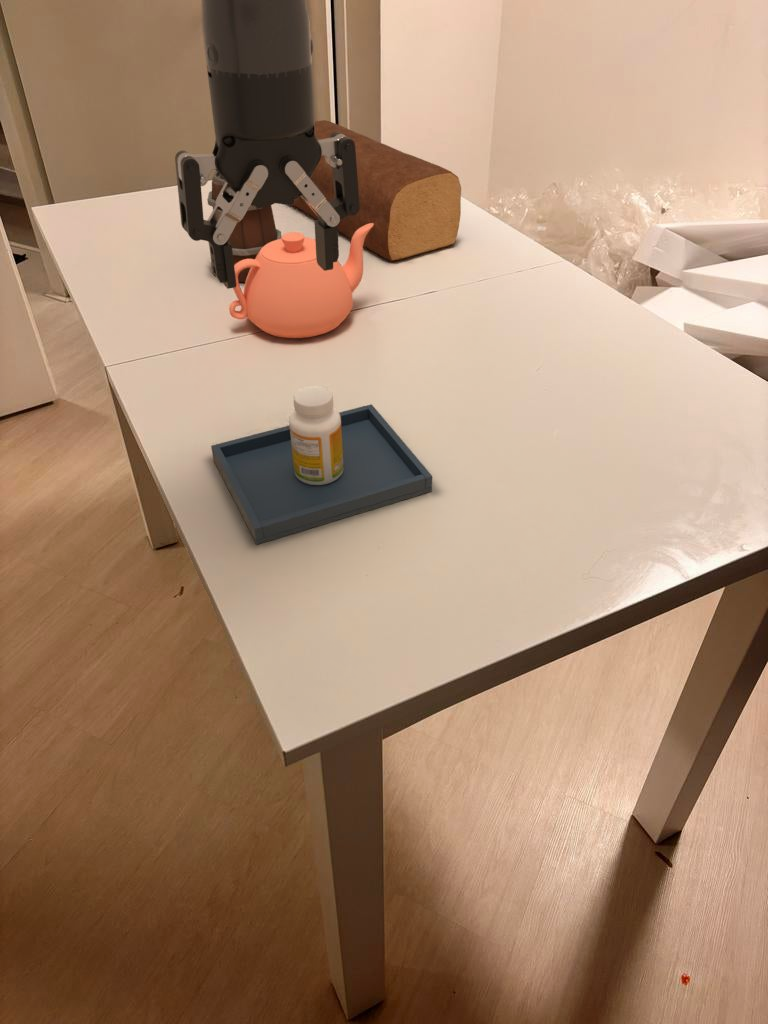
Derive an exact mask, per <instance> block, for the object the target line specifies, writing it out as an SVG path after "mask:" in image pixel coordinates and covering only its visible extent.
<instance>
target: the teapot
mask: <svg viewBox="0 0 768 1024" xmlns="http://www.w3.org/2000/svg"><path fill="white" fill-rule="evenodd" d="M373 225H374V224H373V223H369V224H366V225H364V226H362V227H361V228H359V229H358V230H357V231H356V232H355V233H354V235H353V237H352V239H350V245H349V253H348V257H347V260H346V261H345V263H344V264H343V265H341V263H340V262H339V259H338V260H337V262H333V269H332V270H327V271H324V270H323V269H322V268H321V267H320V266H319V265H318V263H317V259H316V242H315V238H311V237H305V234H304V233H301V232H296V231H291V232H286V233H284V234H281V239H278V240H275V241H272V242H270V243H268V244H266V245H265V246H264V247H263V248H262V249H261V250H260V252H259V253H258V255H257V256H256V258H255V259H244V260H241V261H239V262H238V263H236V264H235V265H234V268H235V276H236V287H235V288H232V289H233V292H234V293H235V296H236V300H233V301H232V302H231V303H230V304H229V307H228V311H229V314H230V317H232V318H234V319H237V320H244V319H246V318H248V319H249V320H250V322H251V323H253V324H254V326H256V327H258V328H259V329H260V330H261V331H263V332H265V333H266V334H269V335H272V336H274V337H279V338H285V339H303V338H304V339H305V338H312V337H317V336H320V335H323V334H327V333H328V332H331V331H333V330H335V329H336V328H338V327H339V326H340V325H341V323H343V322H344V321H345V319H346V318H347V316H348V315H350V313H351V311H352V308H353V305H354V298H353V293H354V291H356V289H357V288H359V287H358V286H359V285H360V283H361V281H362V279H363V275H364V246H363V243H364V239H365V237H366V235H367V233H368V232H369V230H370V229H371V228H372V227H373ZM249 267H251V268H250V271H249V273H248V276H247V278H246V282H244V288H243V290H242V288H241V286H240V282H238V274H239V273H240V271H242V270H243V269H245V268H249ZM236 307H240V308H241V309H240V310H236Z"/></svg>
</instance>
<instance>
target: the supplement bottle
mask: <svg viewBox="0 0 768 1024" xmlns="http://www.w3.org/2000/svg"><path fill="white" fill-rule="evenodd" d="M293 408H294V409H293V410H292V411H291V413H290V416H289V417H288V418H289V419H288V424H289V425H288V426H290V434H291V444H292V453H293V463H294V471H295V475H296V477H297V478H298V479H299V480H300V481H302V482H304V483H307V484H310V485H325V484H328V483H331V482H333V481H335V480H337V479H338V478H339V477H340V476H341V474H342V472H343V449H342V430H341V417H340V414H339V412H340V411H338V409H337V408H335V407H334V395H333V392H332V391H331V390H330V389H329V388H328V387H326V386H322V385H307V386H304V387H301V388H300V389H298V390H296V391H295V392H294V395H293Z"/></svg>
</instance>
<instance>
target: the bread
mask: <svg viewBox="0 0 768 1024" xmlns="http://www.w3.org/2000/svg"><path fill="white" fill-rule="evenodd" d="M334 132H340V133H342V134H343V135H345V136H346V137H348V138H350V139H351V140H353V141H354V143H355V150H356V163H357V177H358V191H359V204H360V209H359V212H358V213H357V214H356V215H354V216H351V215H349V216H347V217H345V218H343V219H342V220H341V221H340V222H339V225H338V233H340V234H341V235H344V236H345V237H346V238H348V239H350V240H352V237H353V235H354V233H355V232H356V231H357V230H358V229H359V228H361V227H362V226H364V225H366V224H369V223H373V224H374V225H373V227H372V228H371V229H370V230H369V232H368V233H367V235H366V237H365V239H364V243H363V247H365V248H367V249H368V250H370V251H372V252H373V253H375V254H377V255H379V256H381V257H382V258H384V259H386V260H387V261H390V262H393V261H401V260H404V259H408V258H411V257H414V256H418V255H421V254H424V253H428V252H433V251H435V250H439V249H442V248H446V247H449V246H452V245H454V244H456V241H457V237H458V233H459V228H460V223H461V213H462V211H461V209H462V208H461V207H462V204H461V203H462V202H461V201H462V200H461V199H462V186H461V181H460V178H459V176H457V175H456V174H455V173H453V172H452V171H451V170H448V169H446V168H445V167H443V166H441V165H438V164H436V163H433V162H430V161H427V160H425V159H423V158H419V157H418V156H415V155H412V154H409V153H406V152H403V151H401V150H398V149H397V148H394V147H392V146H390V145H387V144H385V143H382V142H379V141H377V140H374V139H372V138H370V137H368V136H367V135H364V134H361V133H358V132H356V131H354V130H352V129H349V128H347V127H344V126H342V125H339V124H338V123H335V122H332V121H330V120H327V119H323V120H315V135H316V138H317V140H321V139H327V138H330V136H331V134H332V133H334ZM310 179H311V180H312V182H313V183H314V184H315V185H316V186H317V188H318V189H319V190H320V191H321V193H322V194H323V195H324V196H325V198H326V200H327V201H328V202H330V201H331V200H333V199H335V195H334V184H333V173H332V166H330V165H329V164H328V163H327V162H326V160H325V157H324V156H323V155H322V156H321V159H320V161H319V163H318V165H317V167H316V169H315V170H314V172H313V174H312V176H311V178H310ZM290 205H292V206H293V207H295V208H297V209H298V210H300V211H302V212H304V213H305V214H307V215H309V216H311V217H312V218H314V219H315V220H318V216H317V215H316V214H315V213H314V211H313V210H312V209H311V208H310V207H309V206H308V204H307V203H306V202H305V201H304V200H303V199H302V198H301V197H300V196H299V197H298V198H297V199H296V200H294V203H292V204H290Z"/></svg>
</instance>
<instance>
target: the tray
mask: <svg viewBox="0 0 768 1024" xmlns="http://www.w3.org/2000/svg"><path fill="white" fill-rule="evenodd" d="M338 412H339V414H340V417H341V430H342V449H343V472H342V474H341V476H340V477H339V478H338V479H337V480H335V481H333V482H331V483H328V484H325V485H310V484H307V483H304V482H302V481H300V480H299V479H298V478H297V477H296V475H295V471H294V463H293V453H292V444H291V434H290V426H289V425H286V426H281V427H277V428H274V429H270V430H266V431H263V432H259V433H254V434H251V435H247V436H243V437H239V438H235V439H231V440H227V441H223V442H220V443H216V444H212V445H210V446H211V447H210V449H211V453H212V454H211V455H212V458H213V462H214V464H215V466H216V468H217V470H218V472H219V474H220V476H221V478H222V480H223V482H224V484H225V486H226V488H227V490H228V491H229V493H230V496H231V497H232V499H233V501H234V503H235V504H236V507H237V509H238V511H239V513H240V515H241V517H242V519H243V521H244V523H245V525H246V526H247V528H248V531H249V532H250V534H251V536H252V538H253V541H254V543H255V544H256V545H260V544H264V543H267V542H270V541H273V540H274V541H275V540H276V539H280V538H283V537H286V536H290V535H293V534H296V533H300V532H303V531H306V530H309V529H313V528H317V527H319V526H323V525H327V524H329V523H332V522H336V521H339V520H342V519H346V518H349V517H352V516H356V515H359V514H362V513H365V512H369V511H372V510H375V509H378V508H382V507H385V506H388V505H392V504H394V503H398V502H401V501H405V500H408V499H411V498H416V497H418V496H421V495H424V494H427V493H431V492H433V475H432V474H431V472H430V471H429V470H428V468H426V467H425V466H424V464H423V463H422V462H421V461H420V459H419V458H418V457H417V456H416V455H415V454H414V452H413V451H412V449H410V448H409V447H408V445H407V444H406V443H405V442H404V440H402V438H401V437H400V436H399V435H398V433H397V432H396V431H395V430H394V428H392V426H391V425H390V424H389V423H388V422H387V420H386V419H385V418H384V417H383V416H382V415H381V414H380V412H379V411H378V410H377V409H376V407H374V405H373V404H372V403H371V404H367V405H362V406H359V407H355V408H351V409H347V410H344V411H338Z"/></svg>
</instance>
